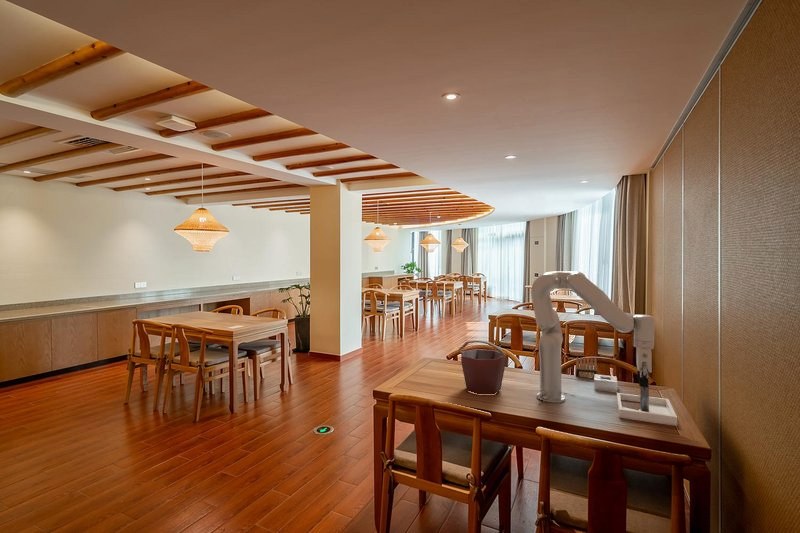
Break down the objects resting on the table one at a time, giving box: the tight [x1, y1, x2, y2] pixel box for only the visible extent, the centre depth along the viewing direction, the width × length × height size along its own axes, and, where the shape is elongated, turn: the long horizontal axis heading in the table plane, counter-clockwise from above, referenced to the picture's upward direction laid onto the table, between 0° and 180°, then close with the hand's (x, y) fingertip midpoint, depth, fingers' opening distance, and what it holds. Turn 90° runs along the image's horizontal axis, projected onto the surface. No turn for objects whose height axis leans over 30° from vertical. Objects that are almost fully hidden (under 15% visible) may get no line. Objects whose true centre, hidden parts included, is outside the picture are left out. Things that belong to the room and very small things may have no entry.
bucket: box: [458, 340, 507, 394], centre depth 201 cm, size 24×22×25 cm
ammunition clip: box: [575, 356, 598, 379], centre depth 216 cm, size 11×2×12 cm, turn 67°
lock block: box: [593, 373, 618, 394], centre depth 197 cm, size 10×10×6 cm
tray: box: [616, 392, 678, 427], centre depth 169 cm, size 22×20×4 cm
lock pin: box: [639, 381, 650, 412], centre depth 169 cm, size 3×3×12 cm
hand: (642, 383), depth 169 cm, fingers open, 9 cm apart
